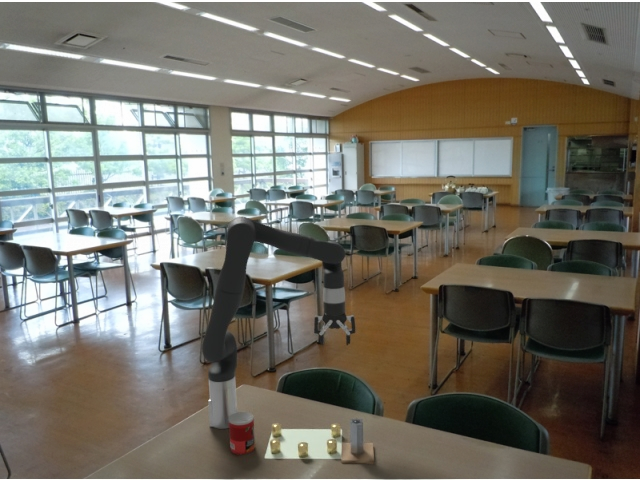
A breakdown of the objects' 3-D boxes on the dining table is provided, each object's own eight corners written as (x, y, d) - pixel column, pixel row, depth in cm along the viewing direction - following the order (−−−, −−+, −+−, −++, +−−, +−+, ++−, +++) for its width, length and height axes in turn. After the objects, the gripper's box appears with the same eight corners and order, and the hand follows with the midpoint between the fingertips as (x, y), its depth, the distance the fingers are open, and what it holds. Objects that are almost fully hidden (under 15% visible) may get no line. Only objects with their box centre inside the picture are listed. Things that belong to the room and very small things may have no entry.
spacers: (265, 457, 165) (265, 447, 164) (272, 432, 180) (272, 423, 179) (340, 458, 163) (339, 447, 163) (340, 432, 178) (340, 423, 178)
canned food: (250, 456, 166) (249, 424, 165) (226, 454, 168) (224, 422, 166) (258, 443, 174) (256, 412, 172) (235, 441, 175) (233, 410, 174)
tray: (341, 463, 161) (341, 460, 161) (341, 446, 171) (341, 442, 171) (374, 464, 160) (374, 460, 160) (372, 446, 170) (372, 442, 170)
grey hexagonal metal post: (350, 455, 163) (350, 424, 162) (350, 447, 168) (350, 417, 166) (363, 455, 163) (363, 424, 162) (363, 447, 168) (362, 417, 166)
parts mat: (264, 459, 164) (264, 458, 164) (272, 430, 182) (272, 429, 182) (341, 460, 163) (341, 458, 163) (342, 430, 181) (342, 429, 181)
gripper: (312, 302, 178) (314, 348, 180) (355, 302, 177) (355, 348, 179) (314, 296, 185) (315, 341, 188) (354, 296, 184) (355, 340, 187)
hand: (335, 344), depth 183 cm, fingers open, 8 cm apart
